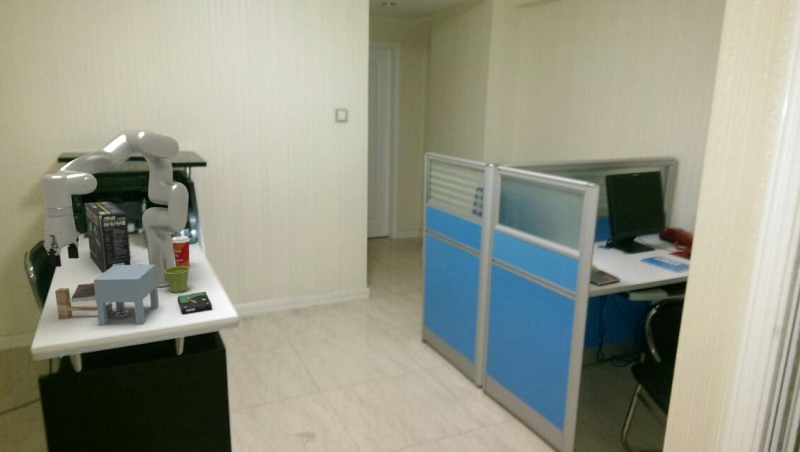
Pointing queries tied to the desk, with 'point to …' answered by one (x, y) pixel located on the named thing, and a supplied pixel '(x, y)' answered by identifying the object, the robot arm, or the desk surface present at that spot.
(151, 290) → the blue-grey small table
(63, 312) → the wooden mallet
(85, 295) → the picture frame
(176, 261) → the paper cup
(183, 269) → the plant pot
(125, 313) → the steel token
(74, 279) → the desk surface
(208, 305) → the disk drive
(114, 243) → the router box
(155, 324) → the desk surface
